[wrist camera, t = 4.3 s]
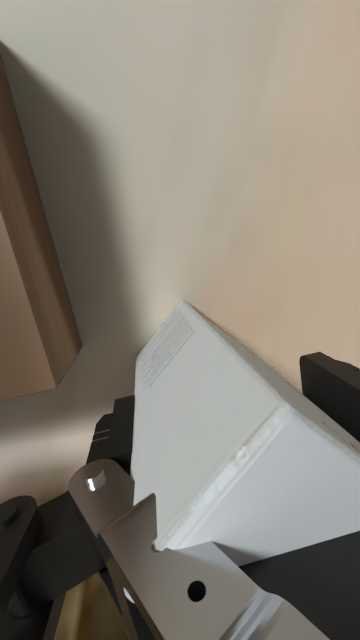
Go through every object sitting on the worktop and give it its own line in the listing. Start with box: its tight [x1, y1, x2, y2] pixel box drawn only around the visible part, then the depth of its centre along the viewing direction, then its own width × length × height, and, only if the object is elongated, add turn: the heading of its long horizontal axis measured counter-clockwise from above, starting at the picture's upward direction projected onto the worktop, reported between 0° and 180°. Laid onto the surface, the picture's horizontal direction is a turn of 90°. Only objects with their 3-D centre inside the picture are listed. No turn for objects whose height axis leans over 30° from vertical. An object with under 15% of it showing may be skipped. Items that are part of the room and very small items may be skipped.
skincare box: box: [124, 300, 360, 603], centre depth 11 cm, size 6×4×12 cm
